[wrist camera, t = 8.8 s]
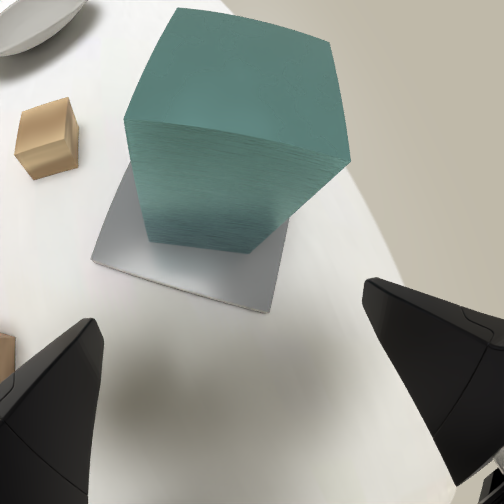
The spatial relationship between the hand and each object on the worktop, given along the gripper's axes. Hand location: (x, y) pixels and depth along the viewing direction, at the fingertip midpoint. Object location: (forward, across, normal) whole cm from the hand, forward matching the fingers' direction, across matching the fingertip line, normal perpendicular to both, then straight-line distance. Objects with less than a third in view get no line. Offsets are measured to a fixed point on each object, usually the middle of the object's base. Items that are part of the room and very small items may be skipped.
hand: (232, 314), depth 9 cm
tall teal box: (+12, +1, -1) cm, 12 cm away
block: (+15, +12, -6) cm, 20 cm away
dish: (+25, +19, -22) cm, 39 cm away
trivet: (+13, +1, 0) cm, 13 cm away
